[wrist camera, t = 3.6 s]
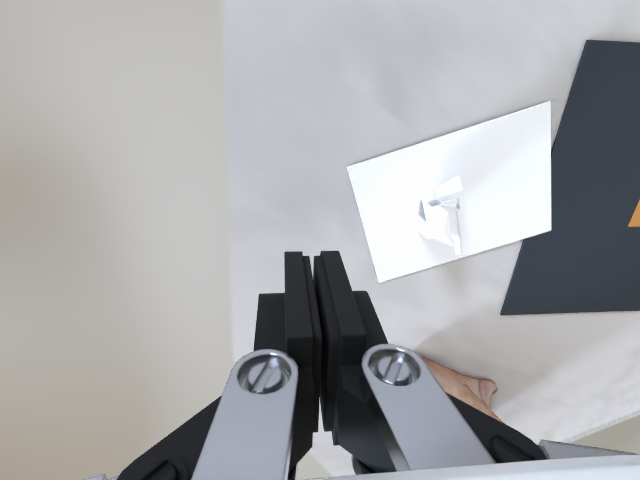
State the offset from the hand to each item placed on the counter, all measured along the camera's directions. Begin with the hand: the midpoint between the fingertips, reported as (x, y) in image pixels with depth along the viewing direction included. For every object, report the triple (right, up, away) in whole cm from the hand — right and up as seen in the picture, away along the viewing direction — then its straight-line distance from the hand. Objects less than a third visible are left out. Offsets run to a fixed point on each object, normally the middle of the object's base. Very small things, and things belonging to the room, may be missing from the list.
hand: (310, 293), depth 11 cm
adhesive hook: (+7, +4, +7) cm, 11 cm away
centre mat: (+19, +4, +9) cm, 22 cm away
